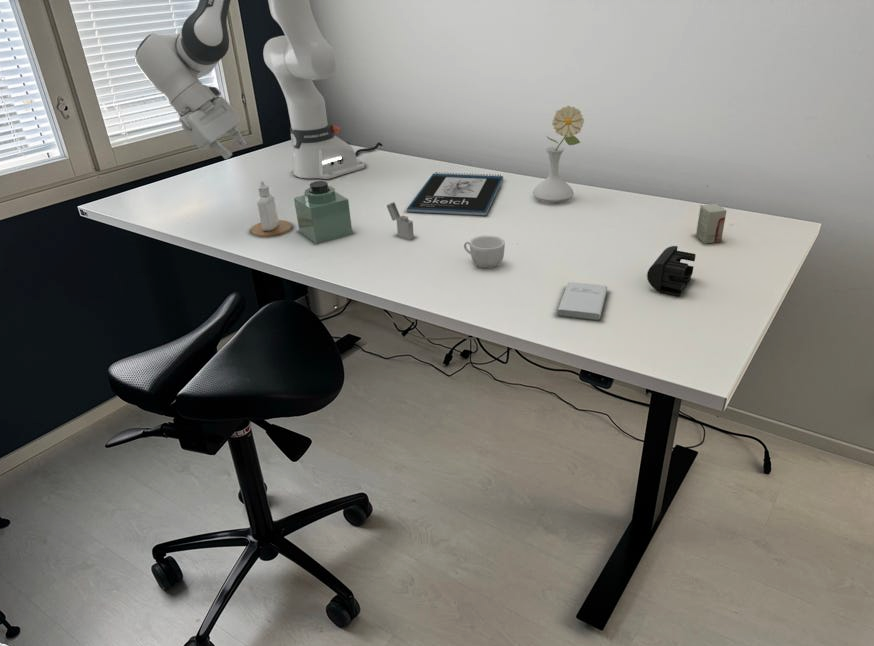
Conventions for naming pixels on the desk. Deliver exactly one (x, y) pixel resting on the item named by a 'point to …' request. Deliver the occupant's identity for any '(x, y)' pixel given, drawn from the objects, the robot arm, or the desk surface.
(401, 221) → the lighter
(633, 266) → the desk surface
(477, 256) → the teacup
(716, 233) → the small box
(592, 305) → the hard drive
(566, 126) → the flower in vase
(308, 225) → the dispenser
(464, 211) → the sketchbook
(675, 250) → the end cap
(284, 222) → the coaster
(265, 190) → the eye dropper bottle
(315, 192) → the grey short cylinder
